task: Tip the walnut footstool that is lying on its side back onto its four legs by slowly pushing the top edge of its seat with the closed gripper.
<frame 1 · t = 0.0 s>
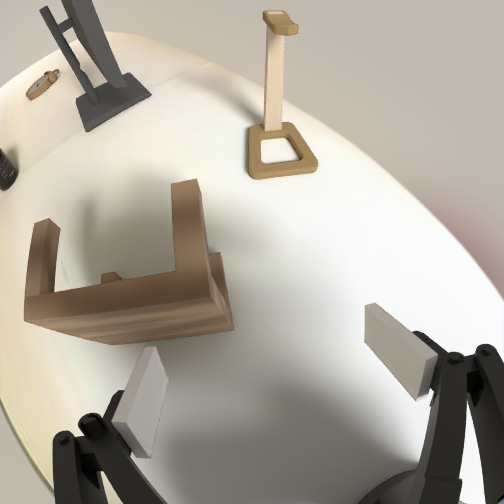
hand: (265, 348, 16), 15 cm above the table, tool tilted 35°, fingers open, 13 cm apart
alarm clock: (45, 87, 63), on the table
computer monitor: (110, 100, 51), on the table
stool: (164, 303, 32), on the table
supplement bottle: (10, 180, 44), on the table
headphone stand: (277, 151, 42), on the table
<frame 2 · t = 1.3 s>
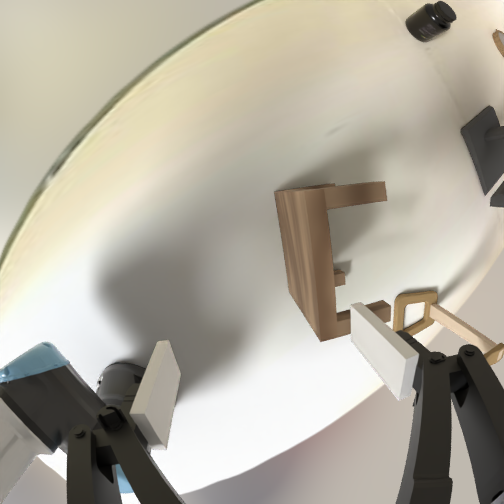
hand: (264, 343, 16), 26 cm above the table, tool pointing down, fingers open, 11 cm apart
computer monitor: (486, 148, 42), on the table
stool: (310, 238, 42), on the table
supplement bottle: (416, 30, 35), on the table
headphone stand: (413, 312, 48), on the table
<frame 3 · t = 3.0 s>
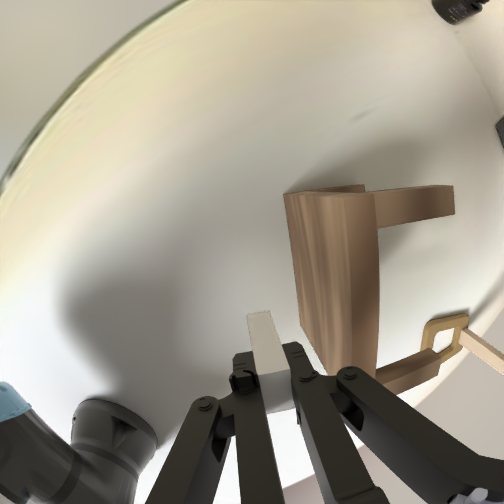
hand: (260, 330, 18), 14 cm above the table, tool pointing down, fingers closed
stool: (329, 257, 32), on the table
supplement bottle: (443, 11, 25), on the table
headphone stand: (442, 338, 37), on the table
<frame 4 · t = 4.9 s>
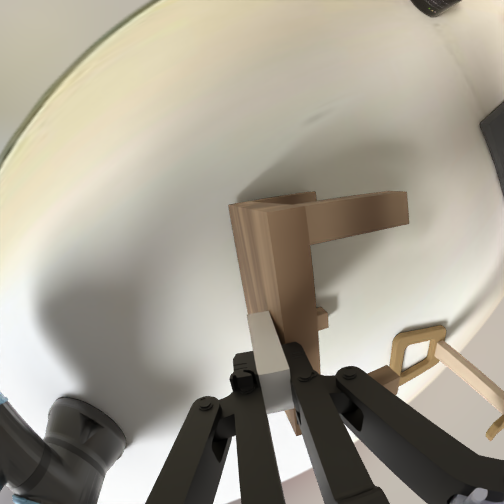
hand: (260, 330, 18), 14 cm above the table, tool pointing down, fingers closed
stool: (280, 268, 31), on the table, tilted 6°, touching gripper
supplement bottle: (421, 4, 24), on the table
headphone stand: (415, 351, 37), on the table
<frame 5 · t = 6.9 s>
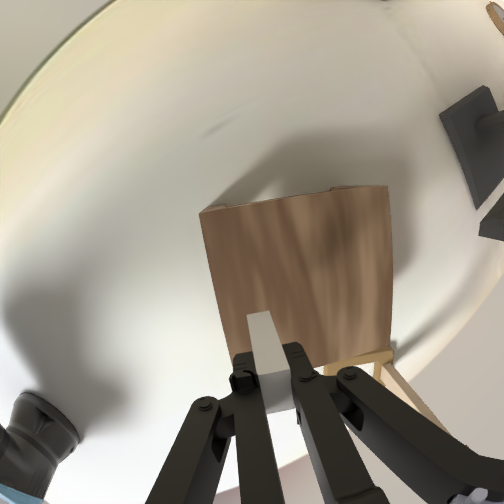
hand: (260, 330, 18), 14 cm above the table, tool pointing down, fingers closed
alarm clock: (502, 28, 25), on the table
computer monitor: (480, 142, 31), on the table
stool: (219, 291, 27), point 4 cm above the table, tilted 90°
headphone stand: (357, 373, 36), on the table
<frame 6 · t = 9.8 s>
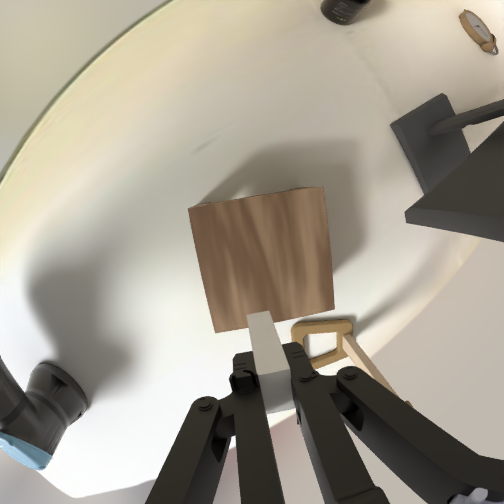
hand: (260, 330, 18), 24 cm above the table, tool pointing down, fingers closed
alarm clock: (475, 34, 35), on the table
computer monitor: (435, 145, 41), on the table
stool: (204, 265, 37), point 4 cm above the table, tilted 90°
supplement bottle: (336, 13, 34), on the table
headphone stand: (321, 342, 47), on the table
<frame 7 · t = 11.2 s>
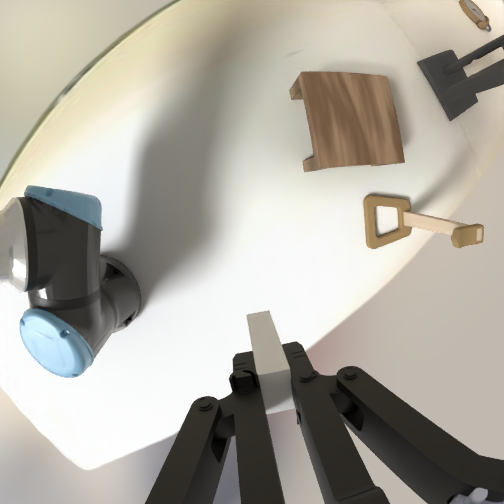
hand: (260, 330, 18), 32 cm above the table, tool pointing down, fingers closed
alarm clock: (472, 16, 39), on the table
computer monitor: (449, 83, 45), on the table
stool: (303, 123, 42), point 4 cm above the table, tilted 90°
headphone stand: (386, 219, 51), on the table
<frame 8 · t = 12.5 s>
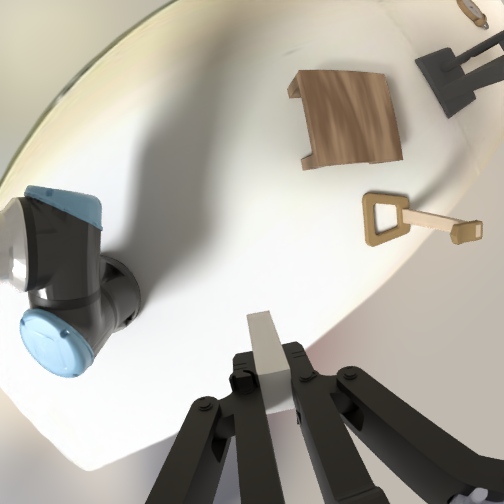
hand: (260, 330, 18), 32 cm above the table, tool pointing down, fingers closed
alarm clock: (470, 14, 40), on the table
computer monitor: (446, 80, 45), on the table
stool: (301, 122, 42), point 4 cm above the table, tilted 90°
headphone stand: (385, 217, 51), on the table
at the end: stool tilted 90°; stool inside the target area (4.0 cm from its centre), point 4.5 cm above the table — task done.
